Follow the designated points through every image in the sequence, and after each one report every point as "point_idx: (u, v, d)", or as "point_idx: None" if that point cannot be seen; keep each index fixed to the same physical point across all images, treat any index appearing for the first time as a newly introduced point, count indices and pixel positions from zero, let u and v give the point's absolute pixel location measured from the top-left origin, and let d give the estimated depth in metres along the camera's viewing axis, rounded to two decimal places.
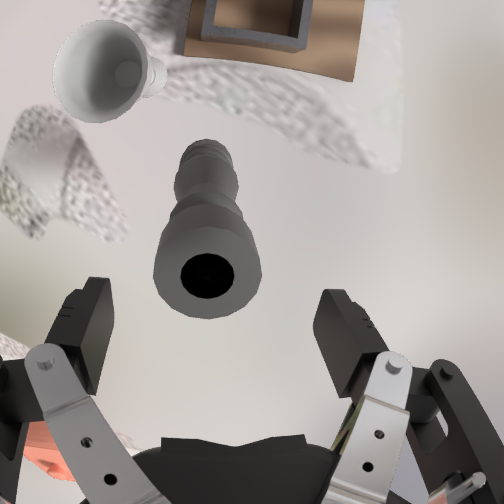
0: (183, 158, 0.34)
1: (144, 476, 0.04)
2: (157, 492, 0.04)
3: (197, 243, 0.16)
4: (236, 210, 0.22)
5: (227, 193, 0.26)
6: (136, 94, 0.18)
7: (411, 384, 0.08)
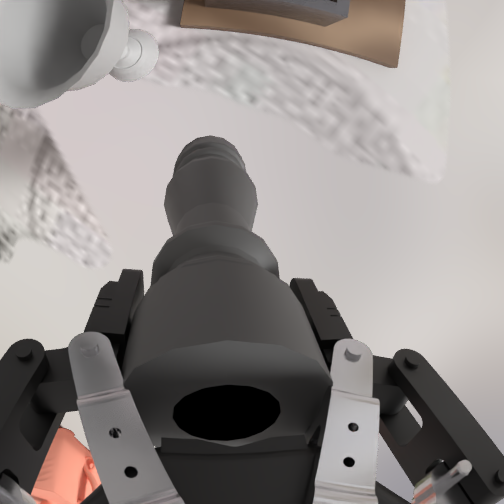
0: (179, 161, 0.25)
1: (165, 474, 0.04)
2: (174, 492, 0.04)
3: (206, 370, 0.07)
4: (268, 258, 0.12)
5: (246, 218, 0.17)
6: (92, 55, 0.09)
7: (373, 373, 0.09)
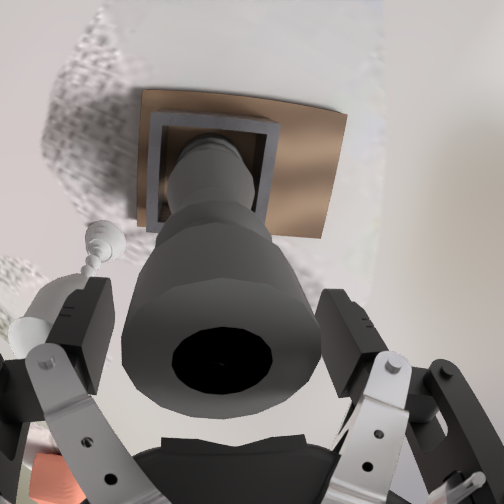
0: (180, 156, 0.27)
1: (144, 476, 0.04)
2: (157, 492, 0.04)
3: (203, 310, 0.08)
4: (263, 231, 0.13)
5: (243, 202, 0.18)
6: None
7: (410, 384, 0.08)
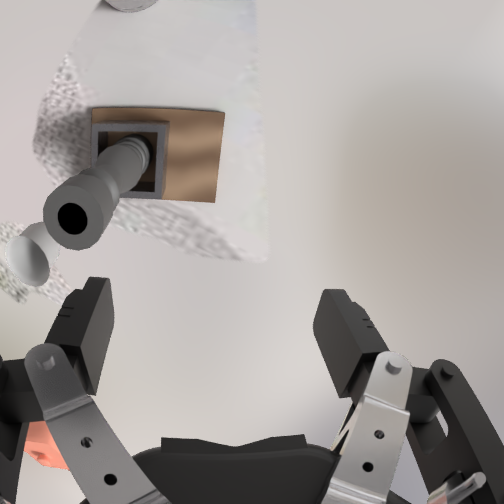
0: None
1: (144, 476, 0.04)
2: (157, 492, 0.04)
3: (63, 196, 0.22)
4: (111, 180, 0.28)
5: (120, 171, 0.32)
6: (48, 273, 0.35)
7: (411, 384, 0.08)
